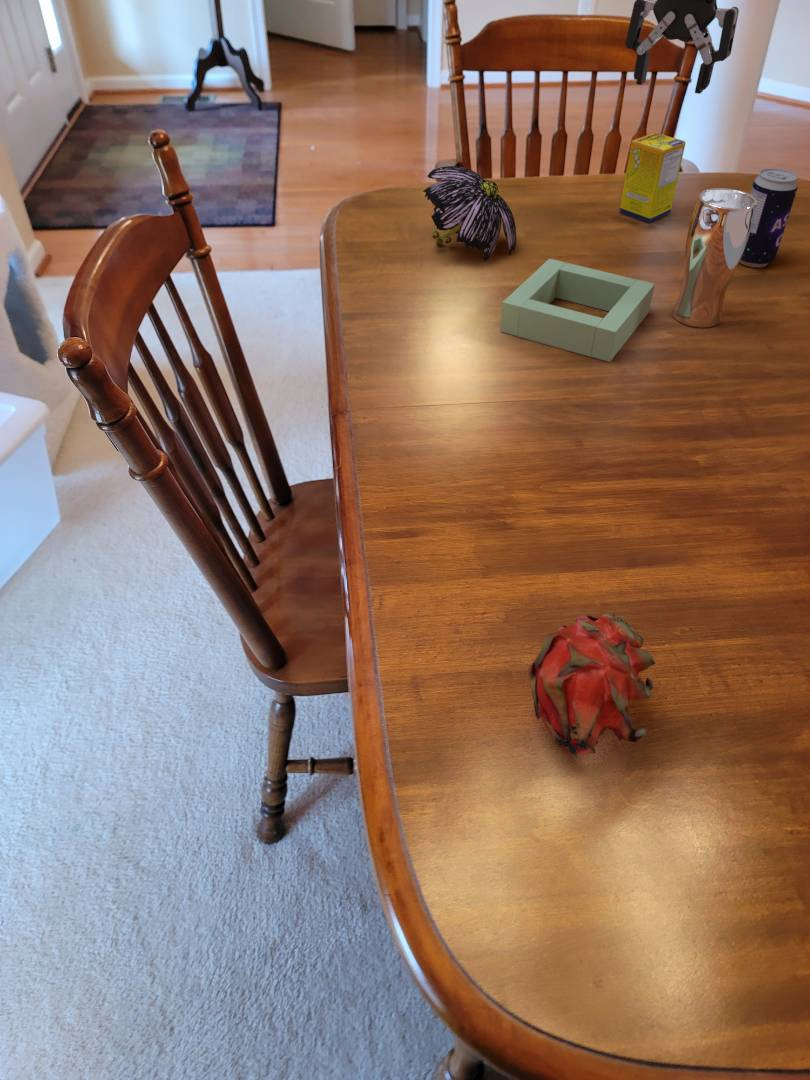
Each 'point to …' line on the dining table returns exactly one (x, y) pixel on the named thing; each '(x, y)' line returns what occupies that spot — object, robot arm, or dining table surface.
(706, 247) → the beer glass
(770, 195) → the beverage can
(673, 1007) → the dining table surface
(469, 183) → the decorative flower
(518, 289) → the socket
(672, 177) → the supplement box
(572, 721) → the dragon fruit
